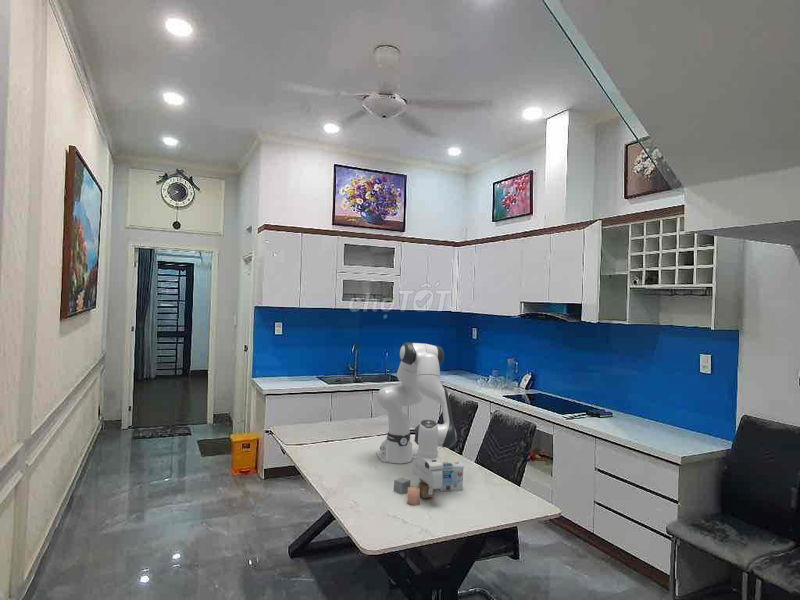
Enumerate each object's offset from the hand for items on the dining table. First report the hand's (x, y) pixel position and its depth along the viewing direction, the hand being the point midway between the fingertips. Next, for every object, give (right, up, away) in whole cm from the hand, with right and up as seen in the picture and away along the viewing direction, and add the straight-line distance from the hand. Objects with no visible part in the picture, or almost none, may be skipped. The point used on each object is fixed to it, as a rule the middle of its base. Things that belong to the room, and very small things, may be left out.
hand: (426, 491), depth 217 cm
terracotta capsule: (-6, -2, -6) cm, 9 cm away
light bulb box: (+11, -3, +12) cm, 16 cm away
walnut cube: (0, -2, 0) cm, 2 cm away
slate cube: (-10, -2, +6) cm, 12 cm away
